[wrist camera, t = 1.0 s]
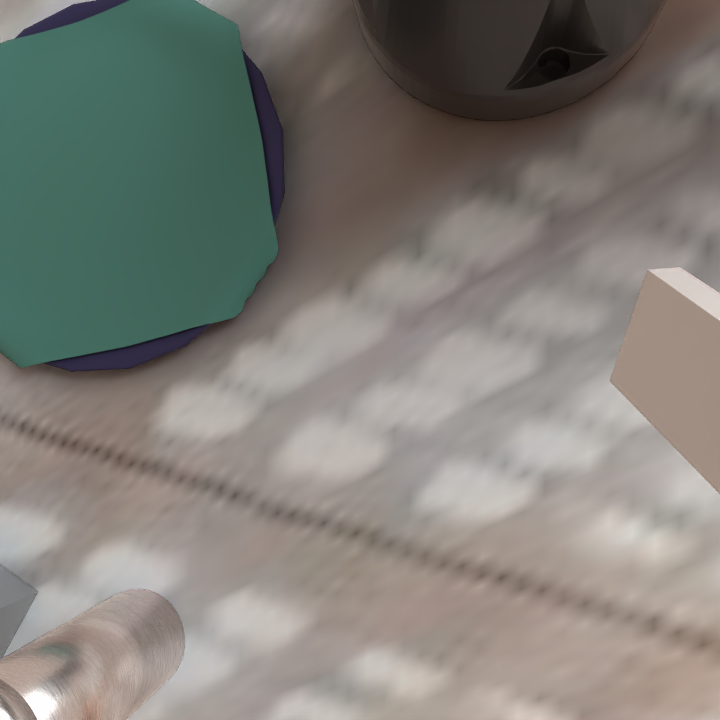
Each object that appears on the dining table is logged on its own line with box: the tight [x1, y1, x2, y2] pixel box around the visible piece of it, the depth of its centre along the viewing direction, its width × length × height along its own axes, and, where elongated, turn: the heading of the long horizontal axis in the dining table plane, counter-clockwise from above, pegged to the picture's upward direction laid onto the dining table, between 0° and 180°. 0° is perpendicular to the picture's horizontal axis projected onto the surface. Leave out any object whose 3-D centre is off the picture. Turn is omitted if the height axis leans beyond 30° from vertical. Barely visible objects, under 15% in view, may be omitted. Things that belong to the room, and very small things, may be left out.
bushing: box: [0, 589, 185, 720], centre depth 25 cm, size 6×6×12 cm
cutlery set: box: [0, 0, 285, 372], centre depth 33 cm, size 20×30×2 cm, turn 101°
